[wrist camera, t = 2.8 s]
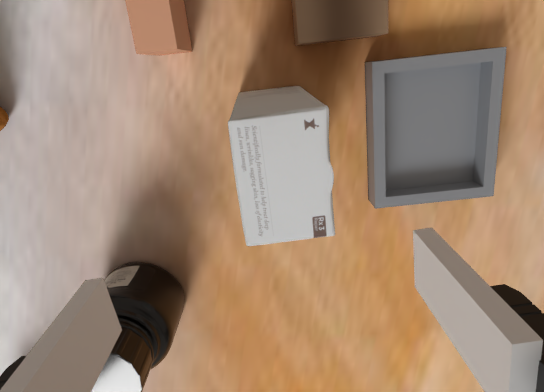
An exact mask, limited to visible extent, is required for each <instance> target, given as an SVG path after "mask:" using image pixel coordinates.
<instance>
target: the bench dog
mask: <svg viewBox="0 0 544 392" xmlns="http://www.w3.org/2000/svg"><path fill="white" fill-rule="evenodd" d="M125 1H126V6H127V11H128V16H129V20H130V25H131V30H132V35H133V39H134V44H135V49H136V54H146V55H167V54H175V53H184V52H192V46H191V40H190V34H189V28H188V22H187V16H186V10H185V4H184V0H125Z"/></svg>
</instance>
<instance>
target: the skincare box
mask: <svg viewBox="0 0 544 392" xmlns="http://www.w3.org/2000/svg"><path fill="white" fill-rule="evenodd" d="M228 128H229V136H230V144H231V152H232V160H233V167H234V174H235V180H236V187H237V193H238V199H239V205H240V212H241V218H242V225H243V230H244V236H245V241H246V245H247V246H255V245H264V244H272V243H279V242H287V241H295V240H302V239H310V238H317V237H327V236H334V235H335V227H334V214H333V201H332V186H333V181H334V175H333V168H332V166H331V164H330V152H329V108H328V106H327V105H325V104H323V103H322V102H320V101H319V100H318V99H316V98H315V97H314V96H312V95H311V94H309V93H308V92H307V91H305V90H304V89H303V88H302V87H300V86H291V87H281V88H273V89H264V90H255V91H247V92H239V93H238V96H237V99H236V102H235V105H234V108H233V112H232V114H231V117H230V120H229V121H228Z"/></svg>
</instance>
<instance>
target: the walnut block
mask: <svg viewBox="0 0 544 392" xmlns="http://www.w3.org/2000/svg"><path fill="white" fill-rule="evenodd" d="M292 12H293V24H294V36H295V46H298V45H307V44H316V43H325V42H333V41H342V40H351V39H360V38H368V37H376V36H380V35H384V34H388V0H292Z"/></svg>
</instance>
